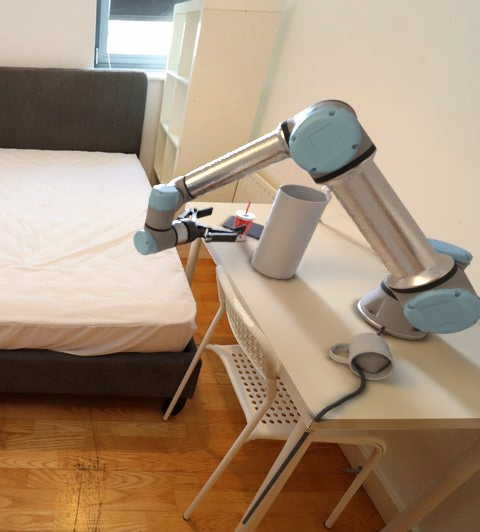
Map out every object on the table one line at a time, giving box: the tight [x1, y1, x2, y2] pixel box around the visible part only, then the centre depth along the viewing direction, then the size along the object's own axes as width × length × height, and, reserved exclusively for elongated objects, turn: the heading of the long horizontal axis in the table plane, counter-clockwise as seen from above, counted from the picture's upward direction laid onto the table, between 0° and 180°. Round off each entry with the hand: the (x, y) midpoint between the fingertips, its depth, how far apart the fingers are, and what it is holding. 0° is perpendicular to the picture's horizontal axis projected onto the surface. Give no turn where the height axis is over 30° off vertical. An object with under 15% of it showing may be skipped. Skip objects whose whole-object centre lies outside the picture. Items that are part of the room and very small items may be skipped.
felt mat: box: [221, 215, 265, 240], centre depth 137 cm, size 11×15×1 cm
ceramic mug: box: [329, 332, 396, 381], centre depth 82 cm, size 11×8×8 cm
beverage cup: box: [233, 200, 256, 242], centre depth 127 cm, size 6×6×14 cm
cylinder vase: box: [251, 183, 330, 280], centre depth 108 cm, size 12×12×25 cm
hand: (227, 219), depth 122 cm, fingers open, 13 cm apart
